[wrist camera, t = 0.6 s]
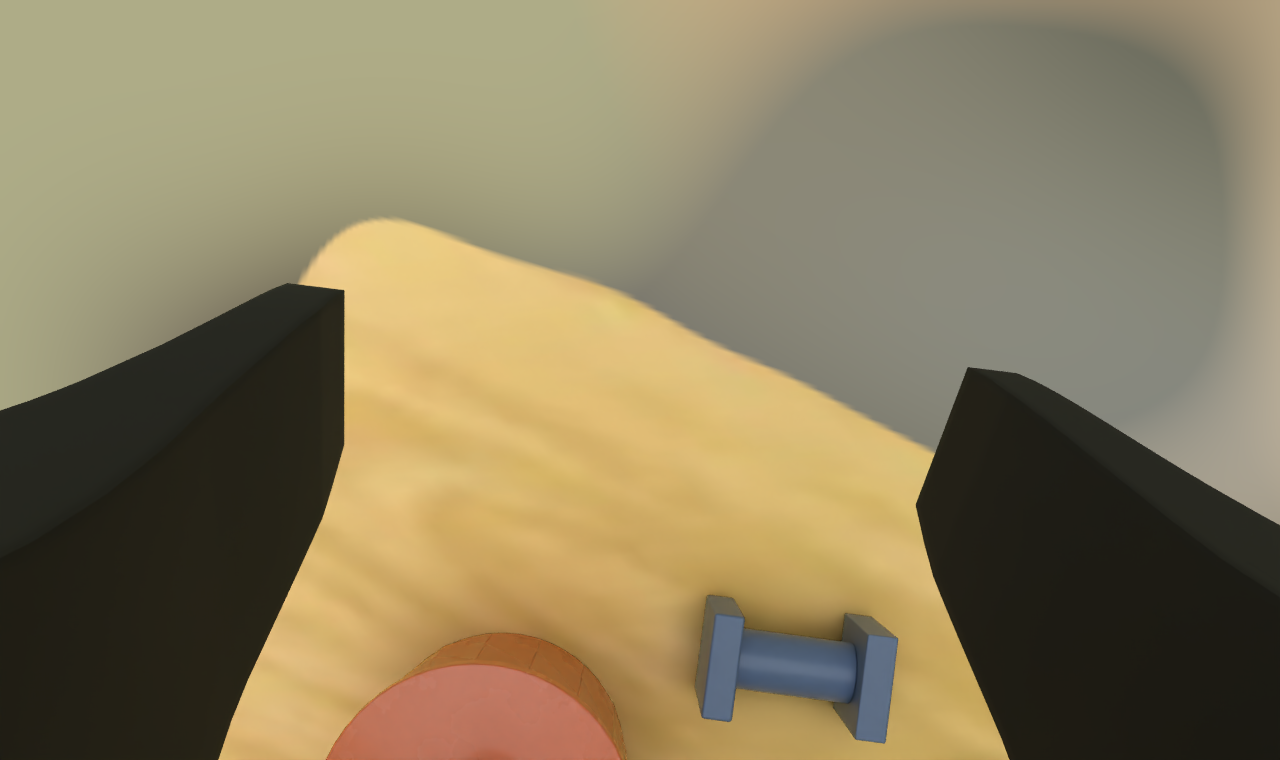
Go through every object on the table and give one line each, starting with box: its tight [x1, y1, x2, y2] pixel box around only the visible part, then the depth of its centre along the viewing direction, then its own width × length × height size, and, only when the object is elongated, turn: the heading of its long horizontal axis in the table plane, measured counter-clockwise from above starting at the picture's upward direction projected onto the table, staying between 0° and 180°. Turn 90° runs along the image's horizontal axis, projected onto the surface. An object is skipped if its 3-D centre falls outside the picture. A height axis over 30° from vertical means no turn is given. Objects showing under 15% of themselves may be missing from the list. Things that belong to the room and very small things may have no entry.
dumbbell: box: [695, 595, 898, 743], centre depth 32 cm, size 6×3×3 cm, turn 82°
